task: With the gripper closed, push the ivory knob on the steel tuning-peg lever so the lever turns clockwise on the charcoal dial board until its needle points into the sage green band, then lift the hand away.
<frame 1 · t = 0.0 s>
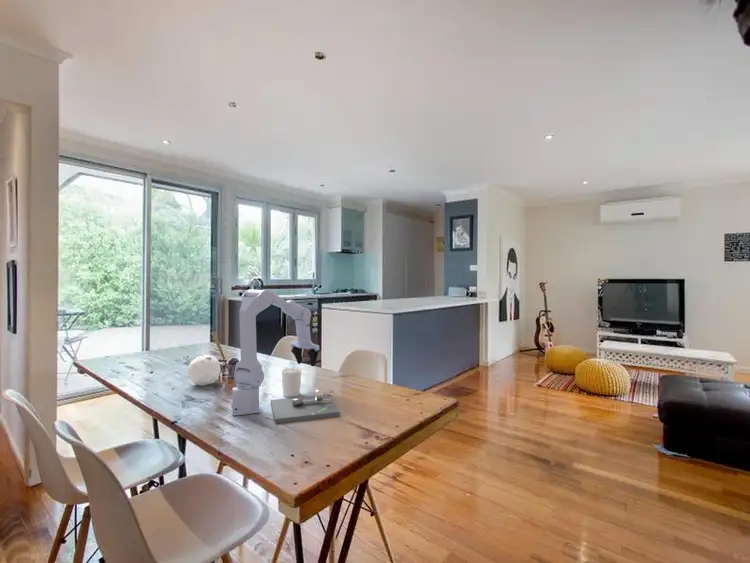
hand: (306, 364, 163), 11 cm above the table, tool pointing down, fingers open, 7 cm apart
white cup: (291, 395, 154), on the table
geodesic sphere: (204, 384, 167), on the table
peg lever: (312, 396, 139), point 4 cm above the table, hinge at 0.0°
dial board: (303, 409, 137), on the table
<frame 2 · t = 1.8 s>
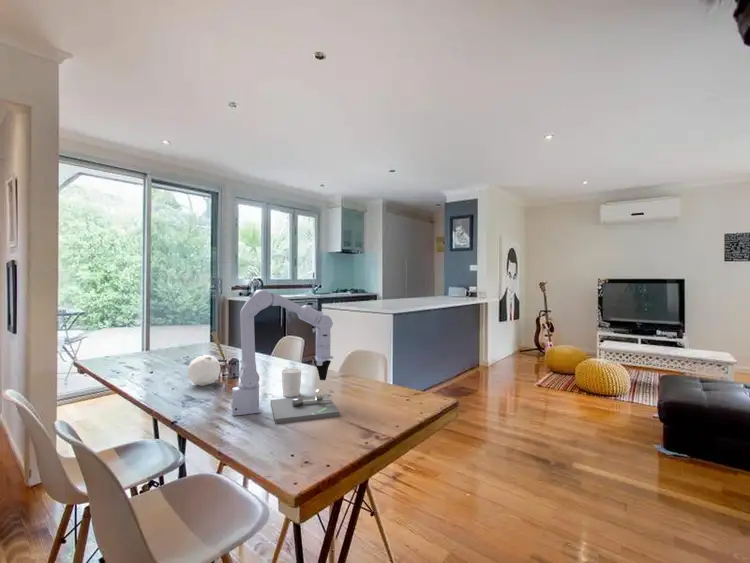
hand: (322, 379, 146), 8 cm above the table, tool pointing down, fingers closed
nothing on the table moved.
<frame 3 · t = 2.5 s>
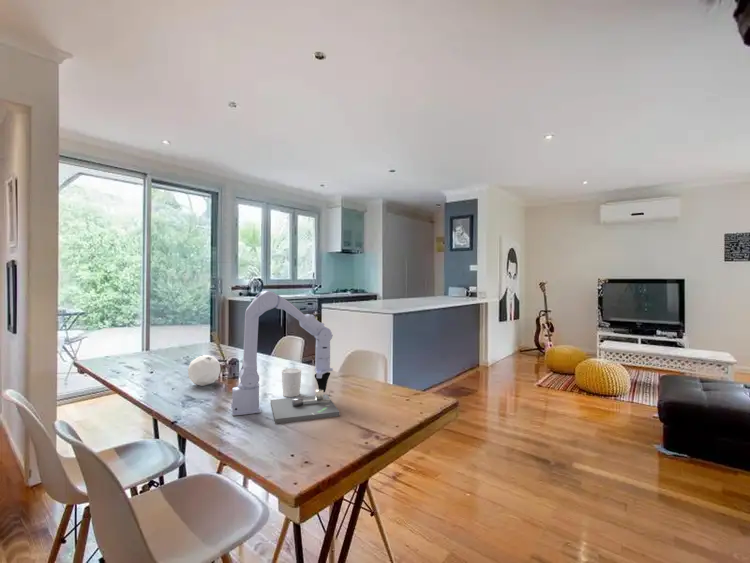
hand: (322, 391, 146), 4 cm above the table, tool pointing down, fingers closed
nothing on the table moved.
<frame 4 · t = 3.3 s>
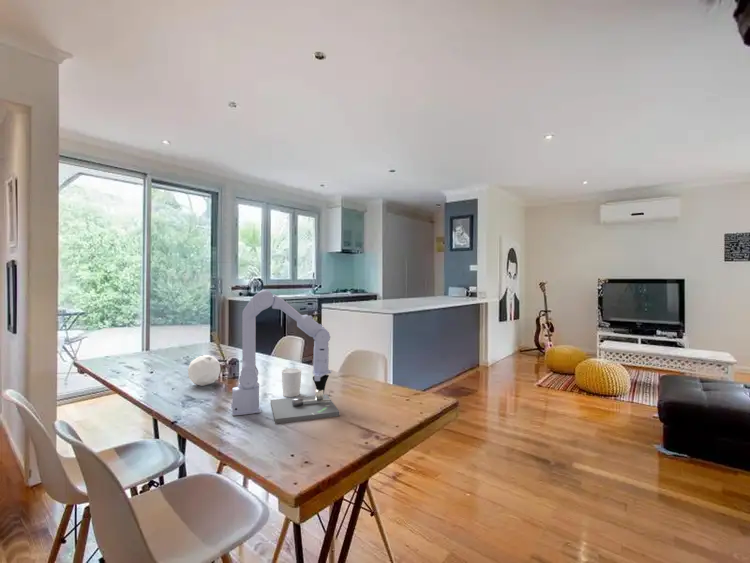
hand: (320, 394, 143), 4 cm above the table, tool pointing down, fingers closed, pressing on peg lever
peg lever: (312, 396, 139), point 4 cm above the table, hinge at -0.1°, touching gripper
everything else where it was.
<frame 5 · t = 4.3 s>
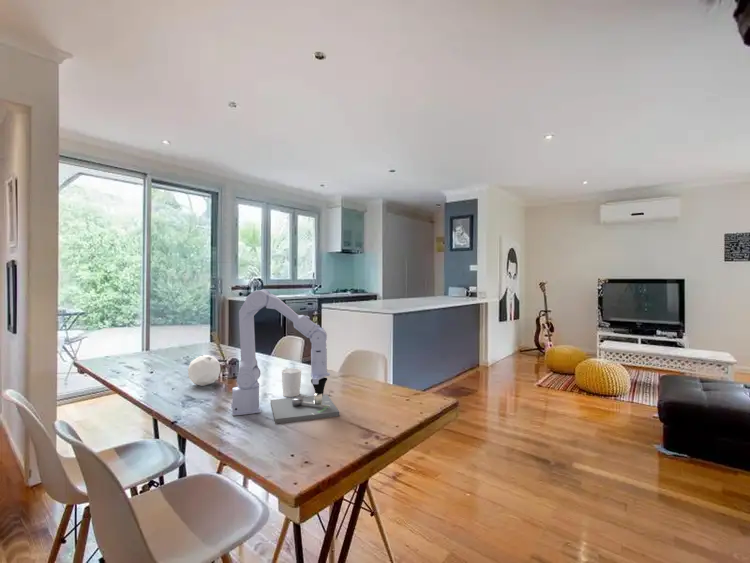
hand: (319, 398, 138), 4 cm above the table, tool pointing down, fingers closed, pressing on peg lever
peg lever: (311, 399, 136), point 4 cm above the table, hinge at -33.2°, touching gripper
everything else where it was.
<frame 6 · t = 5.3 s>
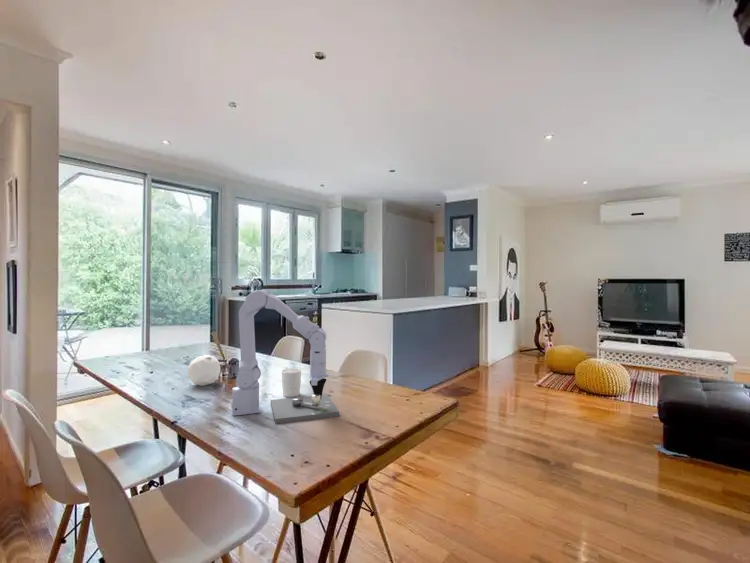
hand: (318, 399, 136), 4 cm above the table, tool pointing down, fingers closed
peg lever: (309, 400, 135), point 4 cm above the table, hinge at -44.2°, touching gripper
everything else where it was.
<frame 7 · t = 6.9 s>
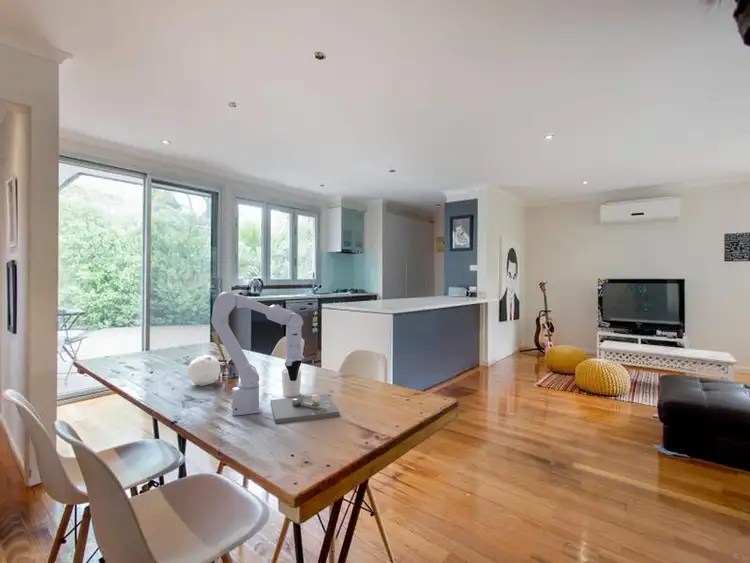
hand: (293, 380, 142), 9 cm above the table, tool pointing down, fingers closed
peg lever: (309, 400, 135), point 4 cm above the table, hinge at -44.3°
everything else where it was.
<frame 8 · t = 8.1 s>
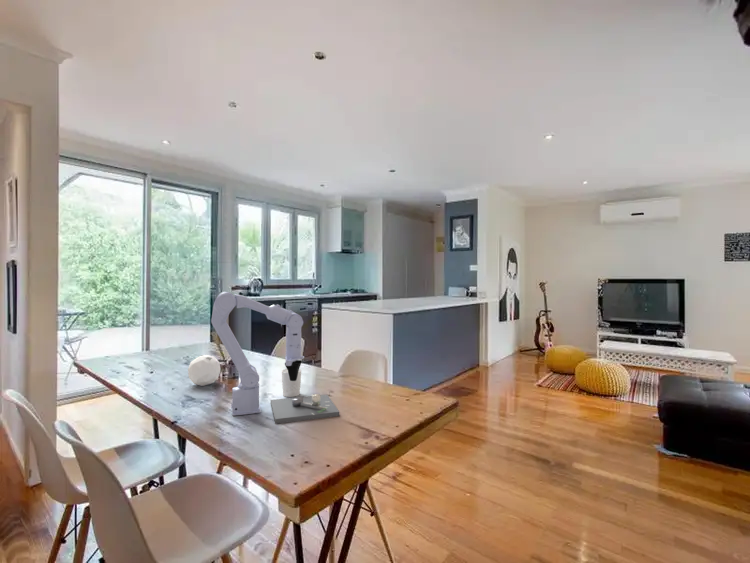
hand: (293, 380, 142), 9 cm above the table, tool pointing down, fingers closed
nothing on the table moved.
at the end: peg lever at -44° (first picture: +0°); white cup moved 0.2 cm from its start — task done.
